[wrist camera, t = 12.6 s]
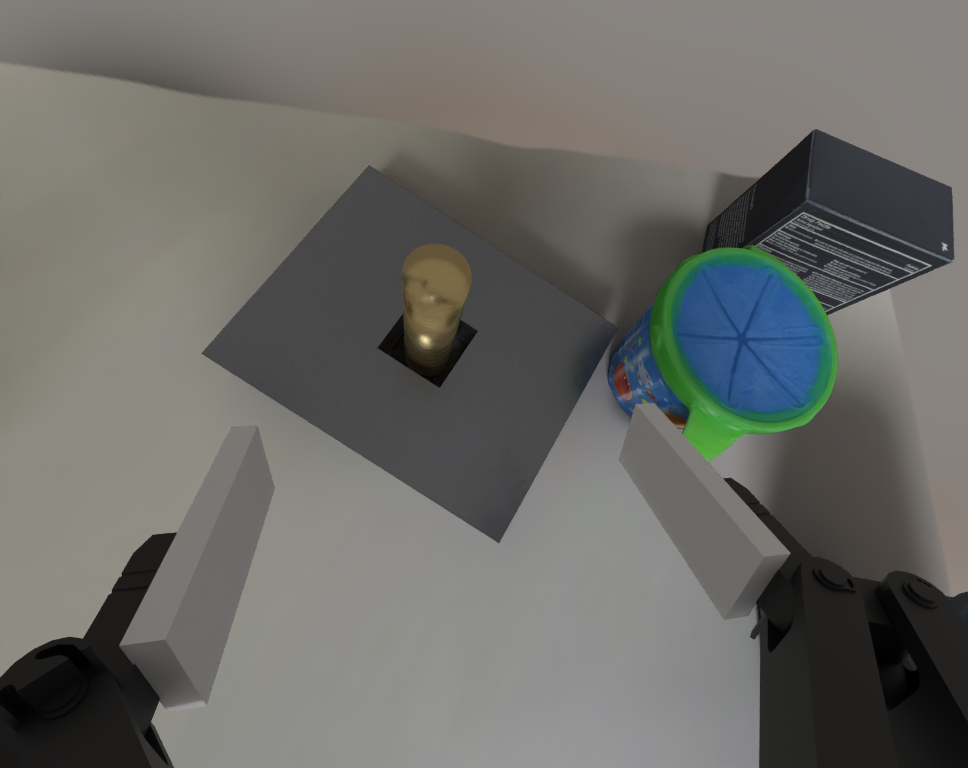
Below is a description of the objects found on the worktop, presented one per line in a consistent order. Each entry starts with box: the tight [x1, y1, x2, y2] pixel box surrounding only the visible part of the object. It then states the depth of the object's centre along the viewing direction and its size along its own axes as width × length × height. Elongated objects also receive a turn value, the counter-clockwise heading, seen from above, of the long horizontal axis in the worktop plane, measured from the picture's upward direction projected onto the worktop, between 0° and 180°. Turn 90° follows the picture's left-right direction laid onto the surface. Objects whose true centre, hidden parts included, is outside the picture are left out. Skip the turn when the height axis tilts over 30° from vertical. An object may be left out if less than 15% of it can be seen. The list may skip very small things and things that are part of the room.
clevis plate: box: [201, 166, 618, 543], centre depth 28 cm, size 20×16×4 cm
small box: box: [702, 129, 954, 315], centre depth 31 cm, size 11×6×10 cm, turn 72°
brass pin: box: [402, 244, 472, 377], centre depth 24 cm, size 3×3×12 cm
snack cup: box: [608, 245, 838, 462], centre depth 28 cm, size 16×11×10 cm
